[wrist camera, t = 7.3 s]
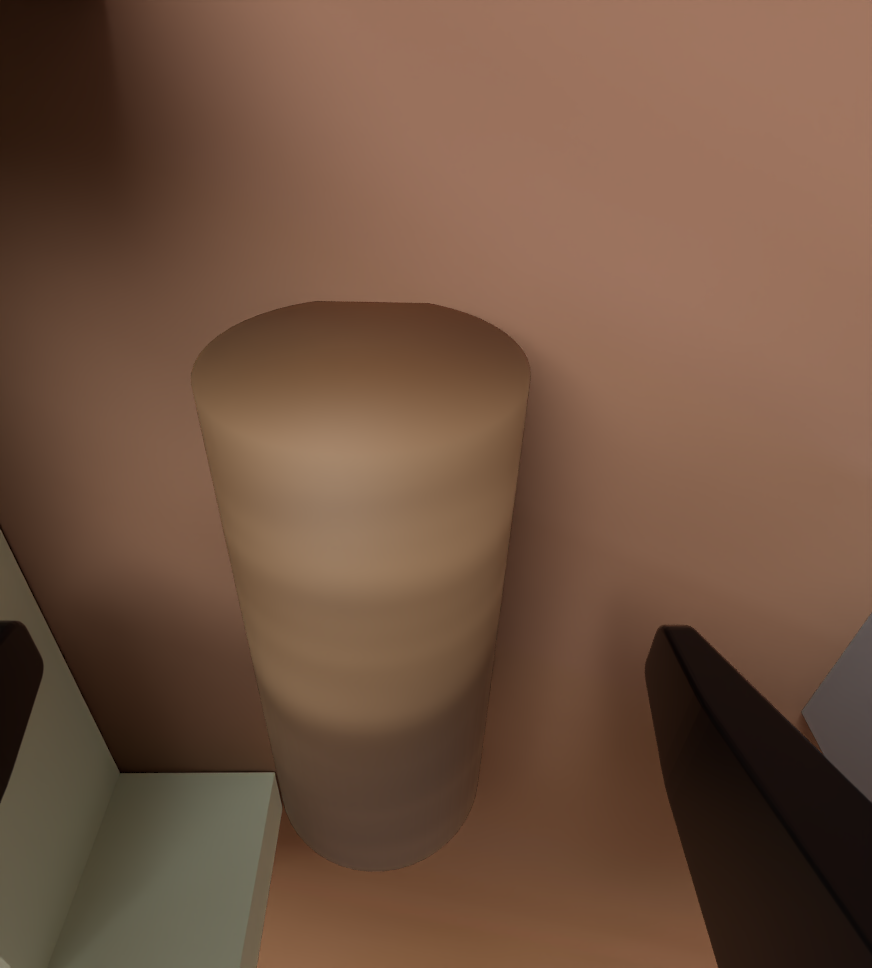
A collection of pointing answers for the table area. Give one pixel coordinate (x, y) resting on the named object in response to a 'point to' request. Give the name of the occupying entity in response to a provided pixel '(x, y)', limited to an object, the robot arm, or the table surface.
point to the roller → (368, 554)
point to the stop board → (122, 841)
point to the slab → (847, 712)
